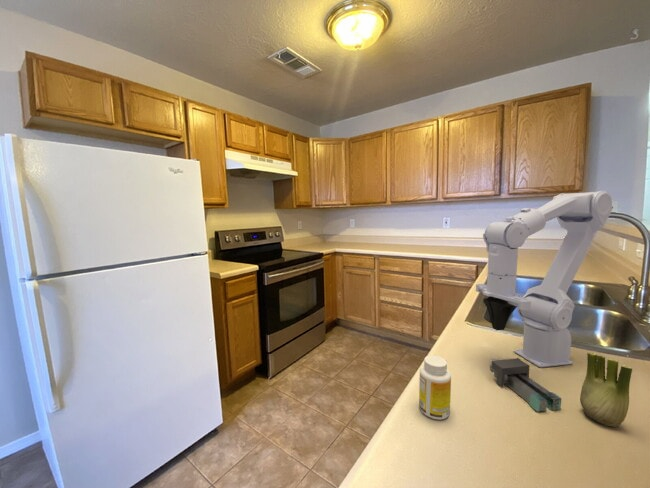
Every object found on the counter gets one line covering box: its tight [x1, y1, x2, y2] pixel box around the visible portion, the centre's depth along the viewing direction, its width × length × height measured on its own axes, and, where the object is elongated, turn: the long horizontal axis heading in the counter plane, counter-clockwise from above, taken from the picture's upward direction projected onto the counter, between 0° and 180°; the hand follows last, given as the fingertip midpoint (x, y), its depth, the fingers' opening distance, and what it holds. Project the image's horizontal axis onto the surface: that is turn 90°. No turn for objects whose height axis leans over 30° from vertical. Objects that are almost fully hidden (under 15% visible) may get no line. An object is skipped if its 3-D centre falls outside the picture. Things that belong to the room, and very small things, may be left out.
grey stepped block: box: [491, 357, 531, 388], centre depth 62 cm, size 7×3×4 cm, turn 98°
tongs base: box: [489, 357, 562, 412], centre depth 60 cm, size 4×15×2 cm, turn 8°
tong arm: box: [493, 370, 547, 412], centre depth 58 cm, size 2×12×2 cm, turn 7°
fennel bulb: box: [579, 351, 633, 427], centre depth 50 cm, size 6×5×12 cm
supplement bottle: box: [418, 355, 452, 420], centre depth 53 cm, size 6×6×10 cm
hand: (498, 328), depth 66 cm, fingers closed
